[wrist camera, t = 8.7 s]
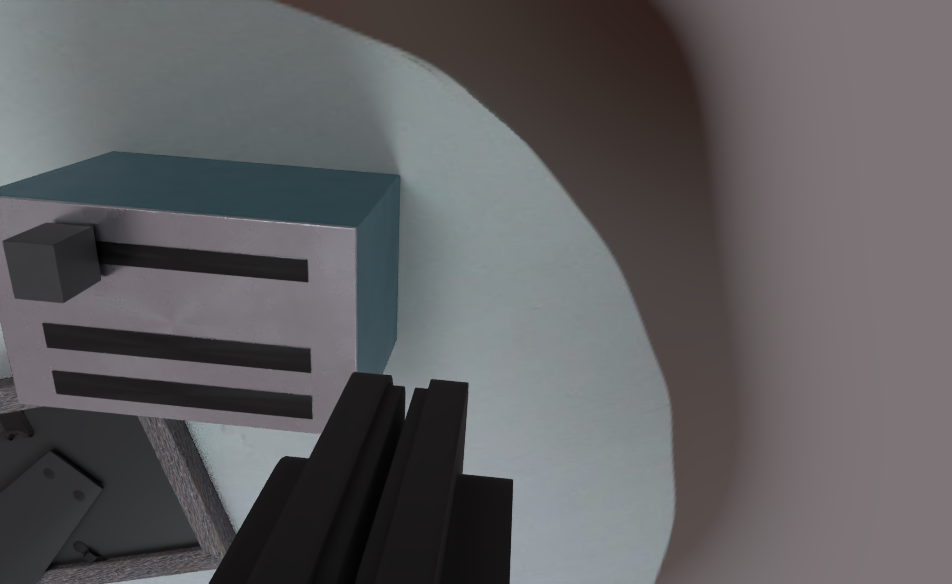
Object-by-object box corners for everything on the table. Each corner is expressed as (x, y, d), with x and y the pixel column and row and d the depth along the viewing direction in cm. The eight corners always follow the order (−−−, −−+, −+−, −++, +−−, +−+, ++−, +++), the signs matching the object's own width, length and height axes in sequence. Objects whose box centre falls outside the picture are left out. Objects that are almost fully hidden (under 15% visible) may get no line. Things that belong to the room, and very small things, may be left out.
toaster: (112, 150, 36) (-31, 195, 27) (400, 174, 36) (355, 228, 26) (135, 316, 40) (17, 404, 31) (396, 340, 40) (355, 438, 30)
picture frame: (-14, 584, 50) (242, 549, 47) (-35, 605, 48) (230, 571, 45) (-131, 404, 44) (151, 350, 41) (-160, 420, 42) (133, 366, 39)
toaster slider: (46, 221, 27) (1, 240, 25) (93, 226, 27) (52, 245, 25) (56, 276, 28) (13, 299, 26) (102, 280, 28) (63, 303, 26)
